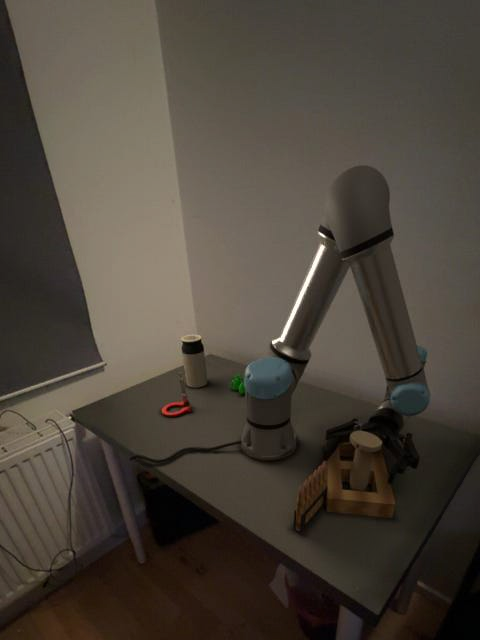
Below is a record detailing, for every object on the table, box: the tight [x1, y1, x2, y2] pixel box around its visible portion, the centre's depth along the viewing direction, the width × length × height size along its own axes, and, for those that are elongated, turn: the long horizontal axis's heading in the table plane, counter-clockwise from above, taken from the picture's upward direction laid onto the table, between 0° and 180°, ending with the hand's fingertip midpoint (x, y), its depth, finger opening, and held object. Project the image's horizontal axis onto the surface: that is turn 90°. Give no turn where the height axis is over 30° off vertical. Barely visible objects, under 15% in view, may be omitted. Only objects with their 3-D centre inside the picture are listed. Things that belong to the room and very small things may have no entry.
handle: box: [348, 431, 383, 492], centre depth 75 cm, size 5×6×15 cm
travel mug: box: [180, 334, 208, 388], centre depth 128 cm, size 8×8×18 cm
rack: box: [324, 439, 396, 519], centre depth 82 cm, size 13×23×4 cm, turn 169°
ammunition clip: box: [292, 460, 328, 535], centre depth 71 cm, size 11×2×12 cm, turn 140°
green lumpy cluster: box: [229, 373, 245, 396], centre depth 126 cm, size 15×15×7 cm
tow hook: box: [161, 371, 192, 418], centre depth 113 cm, size 8×13×9 cm
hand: (356, 466), depth 71 cm, fingers open, 13 cm apart
